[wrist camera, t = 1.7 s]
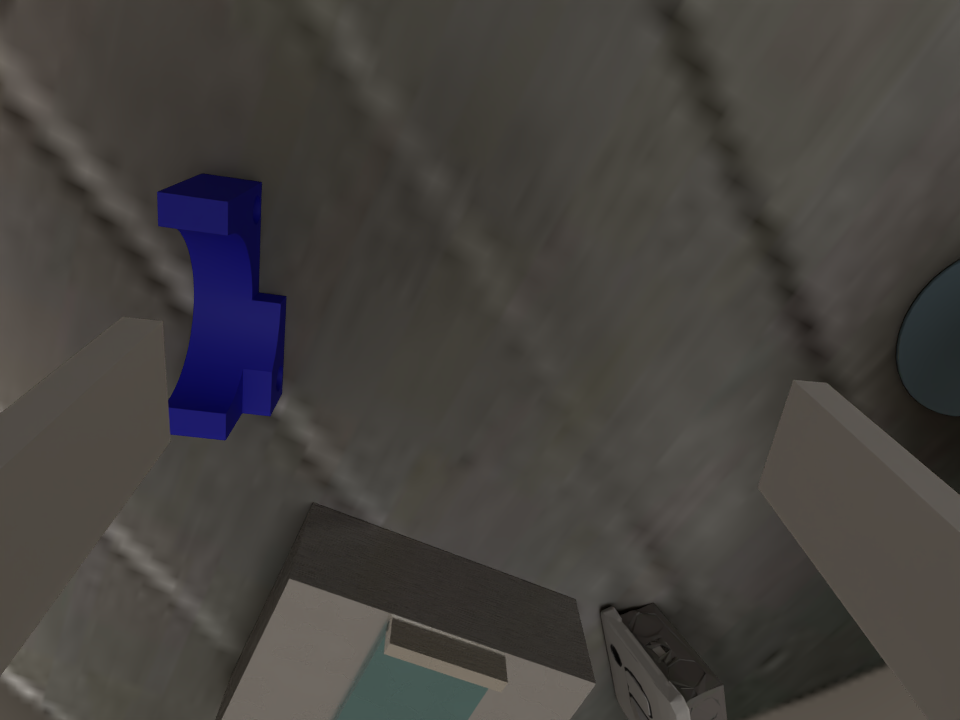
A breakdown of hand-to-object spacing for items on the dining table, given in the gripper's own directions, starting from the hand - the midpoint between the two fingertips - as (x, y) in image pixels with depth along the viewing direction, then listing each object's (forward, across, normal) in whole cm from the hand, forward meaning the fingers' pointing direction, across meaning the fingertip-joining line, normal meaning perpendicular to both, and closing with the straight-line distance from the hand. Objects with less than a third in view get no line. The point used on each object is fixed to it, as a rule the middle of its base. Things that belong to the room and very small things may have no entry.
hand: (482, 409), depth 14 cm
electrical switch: (+24, +16, -30) cm, 41 cm away
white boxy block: (+23, -1, -30) cm, 38 cm away
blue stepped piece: (+24, -11, -6) cm, 27 cm away
